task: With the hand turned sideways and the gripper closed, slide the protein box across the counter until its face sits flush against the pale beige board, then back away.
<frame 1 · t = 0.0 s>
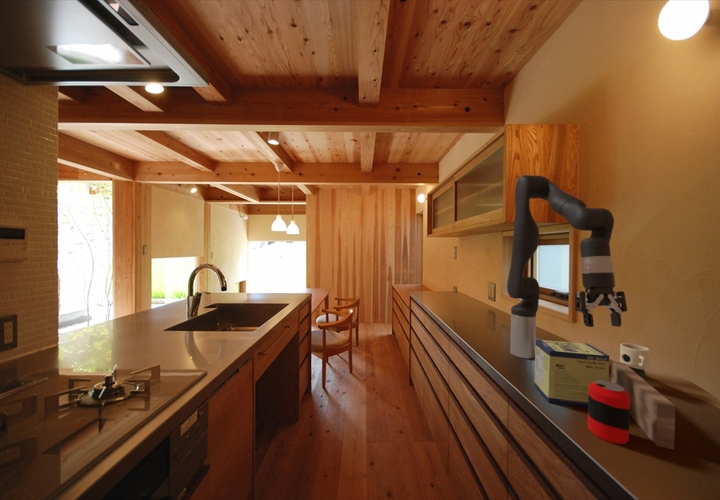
hand: (602, 326, 83), 22 cm above the worktop, tool pointing down, fingers open, 8 cm apart
protein box: (568, 397, 85), on the worktop
soda can: (607, 434, 68), on the worktop
character mug: (633, 386, 93), on the worktop
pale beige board: (637, 416, 76), on the worktop
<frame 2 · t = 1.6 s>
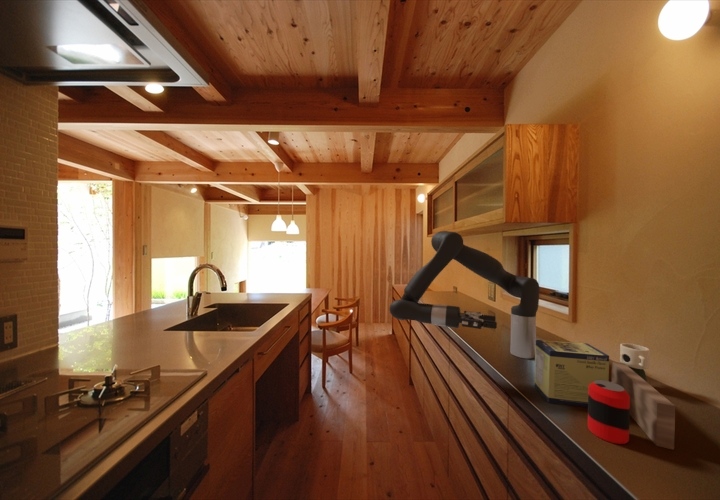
hand: (495, 322, 93), 20 cm above the worktop, tool horizontal, fingers open, 8 cm apart
nothing on the worktop moved.
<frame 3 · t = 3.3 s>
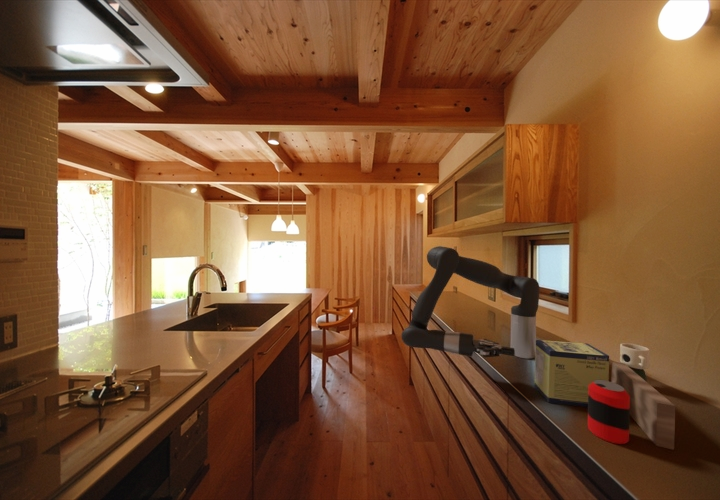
hand: (514, 352, 91), 11 cm above the worktop, tool horizontal, fingers closed
nothing on the worktop moved.
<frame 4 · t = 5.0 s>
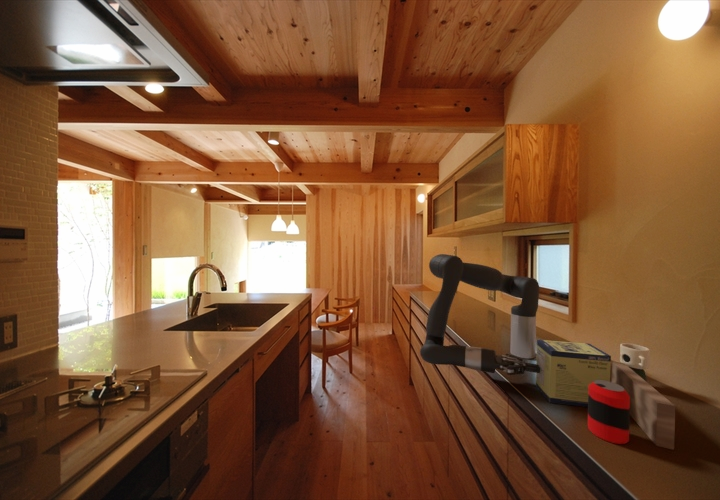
hand: (539, 369, 88), 7 cm above the worktop, tool horizontal, fingers closed
protein box: (569, 397, 85), on the worktop, touching gripper
everything else where it was.
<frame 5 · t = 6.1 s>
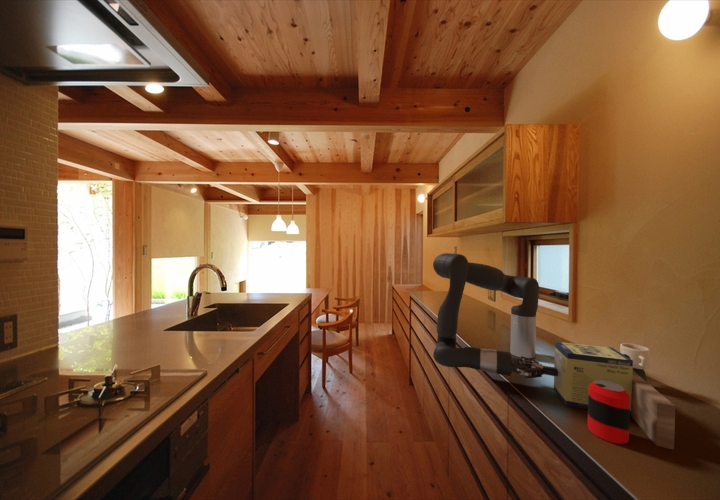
hand: (557, 372, 87), 7 cm above the worktop, tool horizontal, fingers closed
protein box: (589, 402, 83), on the worktop, touching gripper, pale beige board
everything else where it was.
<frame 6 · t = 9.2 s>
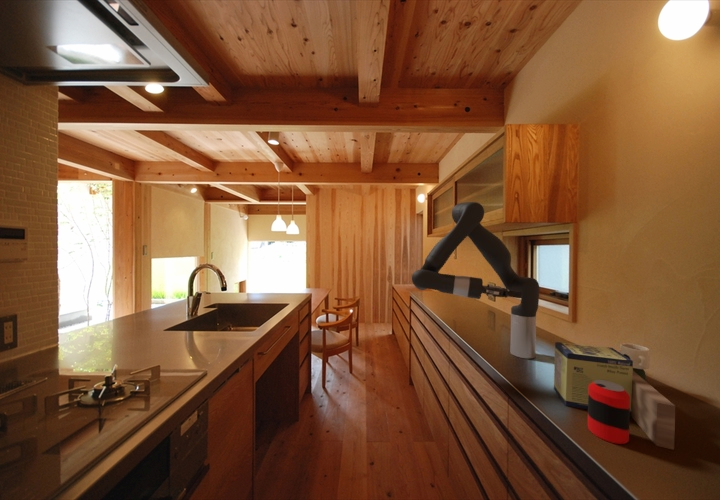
hand: (520, 295, 96), 29 cm above the worktop, tool horizontal, fingers closed
protein box: (589, 402, 83), on the worktop
everything else where it was.
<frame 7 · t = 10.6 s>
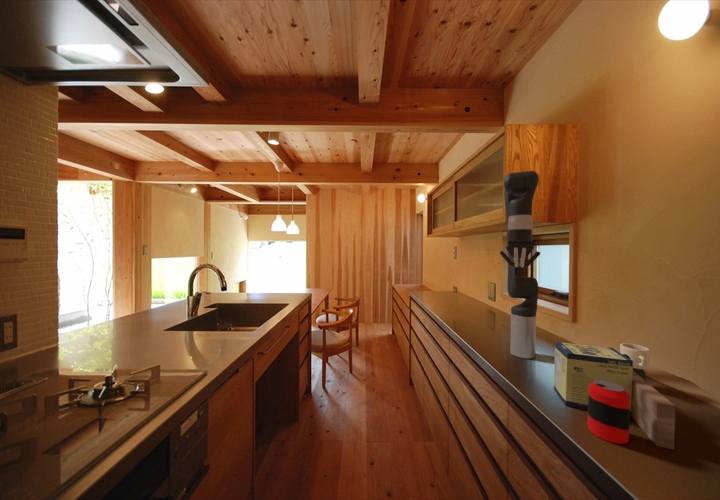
hand: (518, 277, 99), 35 cm above the worktop, tool pointing down, fingers closed
nothing on the worktop moved.
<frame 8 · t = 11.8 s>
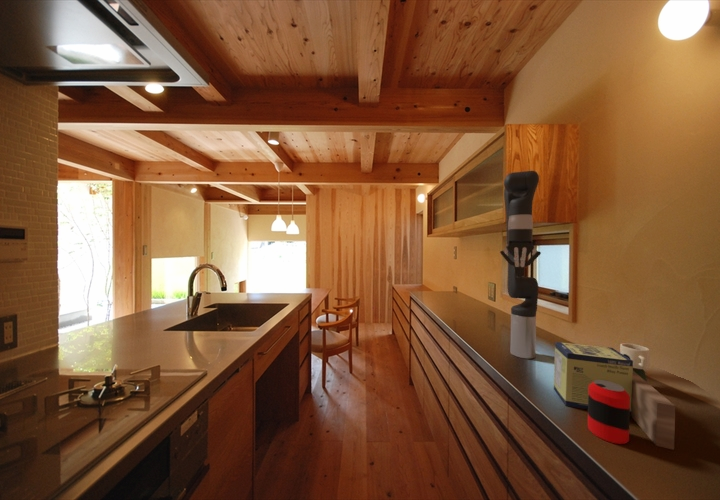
hand: (519, 277, 99), 35 cm above the worktop, tool pointing down, fingers closed
nothing on the worktop moved.
at the end: protein box inside the target area on the worktop beside the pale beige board (0.5 cm from its centre), on the worktop; protein box tilted 0° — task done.
